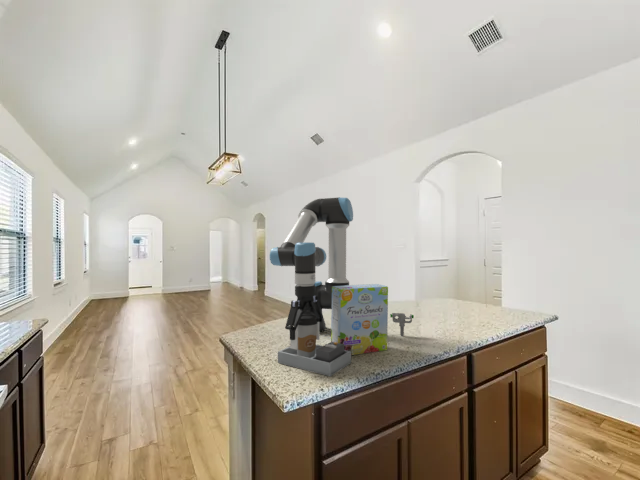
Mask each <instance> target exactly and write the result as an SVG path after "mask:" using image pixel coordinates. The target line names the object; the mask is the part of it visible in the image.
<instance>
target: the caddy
mask: <svg viewBox="0 0 640 480" xmlns="http://www.w3.org/2000/svg"><path fill="white" fill-rule="evenodd" d="M322 346H323V345H321V344H316V348H315V356H313V357H311V358H307V357H303V356H299V355H297V350H296V349H291V348H290V346H287V347H285V348H282V349H280V350H279V351H277V363H278V364H281V365H284V366H289V367H292V368H297V369H301V370H304V371H308V372H312V373H315V374H316V373H317V374H318V375H319V374H320V375H323V376H327V377H332V376H333V375H335V374H337V373H338V372H340V370H343V369H345V367H347V366H349V365H350V364H352V355H351V351H346V350H344V354H343V355H342V356H340V357H338V358H336V359H335V360H333V361H331V362H330V363H329V362H325V361H320V360H316V349H318V348H320V347H322Z"/></svg>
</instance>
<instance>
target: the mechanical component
mask: <svg viewBox="0 0 640 480" xmlns="http://www.w3.org/2000/svg"><path fill="white" fill-rule="evenodd" d="M389 316H390V317H389V318H392V322H393V323H395V324H396V323H397V324H399V325H398V326H399V330H400V333H399V335H400V337H404V335H405V331H404V330H405V329H404V328H405V326H406V325H405V324H411V323H412V321H413V319H414V314H409V316H407V315H406V313H403V312H392V313H390V314H389ZM396 317H398V318H396Z"/></svg>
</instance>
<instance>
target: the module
mask: <svg viewBox="0 0 640 480" xmlns="http://www.w3.org/2000/svg"><path fill="white" fill-rule="evenodd" d="M321 346H322V347H320V348H318V349H316V360H320V361H325V362H329V363H330V362H331V361H333V360H335V359H336V358H338V357H340V356H342V355H343V354H344V344H340V343H337V342H331V341H330V342H329V343H326V344H324V345H321Z"/></svg>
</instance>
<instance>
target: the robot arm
mask: <svg viewBox="0 0 640 480" xmlns="http://www.w3.org/2000/svg"><path fill="white" fill-rule="evenodd" d="M297 216H298V217H297V220H296V221H295V223H294V225H293V226H292V228H291V230H289V233H288V234H287V236H286V237H285V239H284V240H283V242H282V244H281V245H280V246H279V247H278V246H277V247H273V248H271V250H270V252H269V261H270V264H272V265H273V266H276V267H294V284H295V286H294V296H296V300H290V309H289V313H288V316H287V320H286V323H285V325H284V326H285V327H284V328H285V330H289V341H290V342H289V344H290V348H291V349H296V350H297V349H298V330H296V329H297V326H298V324H299V321H300V319H301V317H302V315H315V316H316V319H317V331H316V341H317V340H318V341H319V340H320V333H322V332H324V331H326V329H327V326H326V325H327V324H326V322H325V318H324V315H323V310H332V286H347V285H350V281H349V280H348V278H347V229H348V227H350V222H353V220H354V210H353V206H352V203H351V200H350V199H349V198H348V197H328V198H325V197H324V198H317V199H314V200H312V201H310V202H308V203H307V204H306V205H304V207H303V208H301V210H300V211H299V213H298V215H297ZM319 223H325V227H326V228H328V270H327V271H328V277H327V279H326V280H325V282H324V284H323V282H322V280H321V281H316V272H317V271H316V267H321V266H322V265H324V263H326V260H327V253H326V251H325V250H324V249H323V248H322V247H319V246H316V243H315V242H305V240H306V238H308V235H309V233H310V232H311V230H312V227H315V226H316V225H317V224H319Z"/></svg>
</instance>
